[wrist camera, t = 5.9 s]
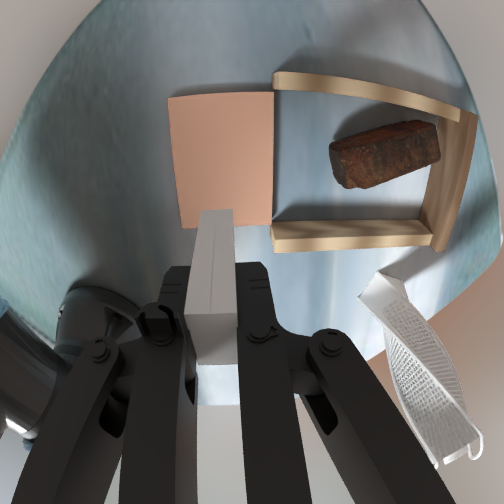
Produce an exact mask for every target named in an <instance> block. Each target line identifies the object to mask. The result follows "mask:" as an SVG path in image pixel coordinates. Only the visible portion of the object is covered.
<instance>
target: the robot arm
mask: <svg viewBox="0 0 504 504" xmlns="http://www.w3.org/2000/svg"><path fill="white" fill-rule="evenodd" d="M196 359H197V362H198V365H228V364H238V375H239V393H240V410H241V425H242V440H243V454H244V468H245V481H246V493H247V504H312V499H311V492H310V486H309V480H308V474H307V468H306V462H305V456H304V450H303V444H302V438H301V432H300V427H299V422H298V415H297V410H296V404H295V399H294V393H295V394H299V396H300V398H301V400H302V402H303V404H304V406H305V408H306V410H307V412H308V414H309V416H310V418H311V420H312V422H313V424H314V425H315V428H316V430H317V431H318V433H319V435H320V437H321V439H322V441H323V443H324V445H325V447H326V449H327V451H328V453H329V455H330V457H331V459H332V461H333V462H334V464H335V466H336V468H337V470H338V472H339V474H340V476H341V478H342V479H343V481H344V483H345V485H346V487H347V489H348V491H349V493H350V495H351V497H352V499H353V500H354V502H355V504H456V503H455V501H454V499H453V498H452V496H451V494H450V492H449V491H448V489H447V487H446V486H445V484H444V482H443V481H442V479H441V477H440V476H439V474H438V472H437V471H436V469H435V467H434V466H433V464H432V462H431V461H430V459H429V457H428V456H427V454H426V453H425V451H424V450H423V448H422V446H421V445H420V443H419V441H418V440H417V438H416V437H415V435H414V433H413V432H412V431H411V429H410V427H409V426H408V424H407V423H406V421H405V419H404V418H403V417H402V415H401V413H400V412H399V410H398V409H397V407H396V406H395V404H394V403H393V401H392V400H391V398H390V397H389V395H388V394H387V392H386V391H385V389H384V388H383V386H382V385H381V383H380V382H379V380H378V379H377V377H376V376H375V374H374V373H373V371H372V370H371V369H370V367H369V366H368V364H367V363H366V361H365V360H364V358H363V357H362V355H361V354H360V352H359V351H358V349H357V348H356V347H355V345H354V344H353V342H352V341H351V339H350V338H349V337H348V336H347V335H346V334H345V333H343V332H341V331H339V330H336V329H330V328H328V329H322V330H319V331H317V332H316V333H314V334H313V335H312V337H309V336H303V335H297V334H294V333H291V332H289V331H287V330H285V329H284V328H283V327H281V325H280V324H279V323H278V321H277V318H276V314H275V309H274V303H273V298H272V293H271V289H270V282H269V277H268V272H267V269H266V268H265V266H264V265H263V264H262V263H261V262H242V263H235V246H234V225H233V209H218V210H201V215H200V220H199V225H198V230H197V236H196V241H195V247H194V253H193V258H192V264H191V266H172V267H171V268H170V269H169V270H168V272H167V273H166V274H165V276H164V279H163V283H162V287H161V291H160V295H159V299H158V302H154V303H150V304H148V305H146V306H143V307H142V308H141V309H140V310H139V309H138V308H137V307H136V306H134V305H133V304H132V303H131V302H129V301H128V300H126V299H124V298H123V297H121V296H119V295H117V294H115V293H113V292H110V291H107V290H104V289H100V288H95V287H79V288H76V289H73V290H71V291H70V292H69V293H68V294H67V295H66V296H65V298H64V300H63V302H62V304H61V306H60V308H59V312H58V323H57V330H56V342H55V347H54V350H52V349H51V348H50V347H49V346H48V345H47V344H46V343H45V342H44V341H43V340H42V339H40V338H39V337H38V336H37V335H36V334H35V333H34V332H33V331H32V330H31V329H30V328H29V327H28V326H27V325H26V324H25V323H24V322H23V321H22V319H21V318H20V317H19V316H18V315H17V314H16V313H15V312H14V311H13V310H12V309H11V307H10V306H9V303H8V302H7V300H5V299H3V298H2V297H1V296H0V438H1V436H2V435H3V433H4V430H5V429H6V428H9V429H11V430H12V431H14V432H16V433H17V434H19V435H21V436H22V437H24V439H23V444H24V448H25V450H26V451H27V452H29V455H28V458H27V460H26V463H25V465H24V468H23V470H22V473H21V476H20V478H19V481H18V484H17V487H16V490H15V493H14V496H13V499H12V502H11V504H104V502H105V499H106V496H107V493H108V490H109V488H110V484H111V482H112V479H113V476H114V474H115V471H116V469H117V466H118V463H119V460H120V457H121V455H122V459H121V470H120V484H119V503H118V504H198V500H197V499H198V498H197V399H198V376H197V372H196Z"/></svg>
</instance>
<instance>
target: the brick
mask: <svg viewBox="0 0 504 504" xmlns="http://www.w3.org/2000/svg"><path fill="white" fill-rule="evenodd" d="M329 156H330V161H331V165H332V170H333V175H334V177H335V179H336V180H337V182H338V183H339V184H341V185H342V186H343V187H344V188H345V189H353V188H356V187H358V188H362V189H367V188H371V187H373V186H376V185H379V184H381V183H384V182H387V181H389V180H392V179H394V178H397V177H399V176H402V175H405V174H407V173H410V172H413V171H415V170H417V169H420V168H422V167H427V166H428V165H431V164H433V163H436V162H439V161H440V159H441V152H440V147H439V141H438V135H437V130H436V126H435V125H434V124H432V123H430V122H423V121H421V120H410V121H407V122H406V121H403V122H400V123H396V124H390V125H386V126H383V127H379V128H375V129H372V130H369V131H366V132H363V133H360V134H356V135H353V136H350V137H347V138H344V139H341V140H338V141H335V142H332V143H331V144H330V145H329Z"/></svg>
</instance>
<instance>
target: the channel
mask: <svg viewBox="0 0 504 504" xmlns="http://www.w3.org/2000/svg"><path fill="white" fill-rule="evenodd" d="M272 89H278V90H299V91H313V92H323V93H333V94H341V95H348V96H355V97H361V98H367V99H373V100H378V101H383V102H388V103H393V104H397V105H401V106H406V107H410V108H414V109H417V110H421V111H425V112H428V113H432V114H435V115H438V116H439V120H438V128H437V135H438V141H439V147H440V152H441V159H440V161H439V162H436V163H433V164H431V169H430V174H429V179H428V183H427V188H426V192H425V196H424V200H423V204H422V208H421V211H420V215H419V219H418V220H318V221H282V222H272V224H271V225H270V237H271V241H272V245H273V249H274V253H285V252H305V251H326V250H345V249H365V248H385V247H404V246H423V245H430V246H431V248H432V249H433V250H434V251H435V252H444V251H445V248H446V245H447V243H448V240H449V237H450V235H451V232H452V229H453V226H454V223H455V220H456V217H457V214H458V210H459V207H460V204H461V200H462V197H463V193H464V189H465V186H466V182H467V177H468V173H469V169H470V164H471V159H472V154H473V149H474V143H475V137H476V130H477V123H478V115H476V114H473V113H471V112H468V111H465V110H462V109H459V108H456V107H454V106H451V105H449V104H446V103H443V102H440V101H437V100H434V99H431V98H428V97H425V96H422V95H419V94H415V93H412V92H408V91H405V90H401V89H397V88H393V87H389V86H385V85H380V84H376V83H371V82H366V81H360V80H355V79H349V78H342V77H335V76H328V75H319V74H309V73H297V72H276V73H273V74H272Z"/></svg>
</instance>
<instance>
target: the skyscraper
mask: <svg viewBox="0 0 504 504" xmlns="http://www.w3.org/2000/svg"><path fill="white" fill-rule="evenodd" d="M357 300H358V301H359V302H360V303H361V304H362V305H363V306H364V307H365V308H366V309H367V310H368V311H369V312H370V313H371V314H372V315H373V316H374V317H375V318H376V319H377V320H378V321H379V322H380V323H381V325H382V327H383V330H384V339H385V345H386V352H387V357H388V363H389V367H390V372H391V376H392V379H393V383H394V386H395V389H396V393H397V395H398V398H399V400H400V403H401V405H402V407H403V410H404V412H405V414H406V416H407V418H408V420H409V422H410V424H411V425H412V427H413V429H414V430H415V432H416V434H417V436H418V437H419V439H420V440H421V442H422V444H423V445H424V447H425V449H426V450H427V456H428V457H429V459H430V461H431V462H432V464H433V463H435V466H434V467H435V469H437V468H438V466H439V464H440V460H442V459H443V460H444V463H445V465H446V464H448V463H450V462H452V461H454V460H456V459H458V458H459V457H461V456H462V455H464V454H466V453H467V452H468V454H469V458H470V459H473V460H475V459H477V458H478V457H480V455H481V454H482V451H483V448H484V433H483V432H482V431H481V429H480V428H479V427H478V426H477V424H476V423H475V422H474V421H473V419H472V418H471V417H470V416H469V414H468V413H467V409H466V403H465V398H464V393H463V390H462V386H461V383H460V380H459V377H458V374H457V372H456V369H455V366H454V365H453V363H452V360H451V358H450V356H449V354H448V352H447V350H446V349H445V347H444V345H443V344H442V342H441V341H440V339H439V337H438V336H437V334H436V333H435V332H434V330H433V329H432V328H431V326H430V325H429V324H428V322H427V321H426V320H425V319H424V317H423V316H422V315H421V314H420V313H419V311H418V310H417V309H416V308H415V307H414V306H413V305H412V304H411V303H410V302H409V299H408V296H407V293H406V290H405V286H404V283H403V280H402V279H400V280H399V279H396V278H393V277H390V276H387V275H384V274H381V273H380V272H378V271H377V272H376V275H375V276H374V278H373V279H372V280H371V282H370V283H369V284H368V286H367V287H366V288H365V290H364V291H363V292H362V294H361V295H360V296H359V297H357ZM478 437H480V444H481V445H480V452H479V453H478V454H477V455H475V456H472V451H471V445H470V443H471V442H472V441H474V440H475V439H477V438H478Z"/></svg>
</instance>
